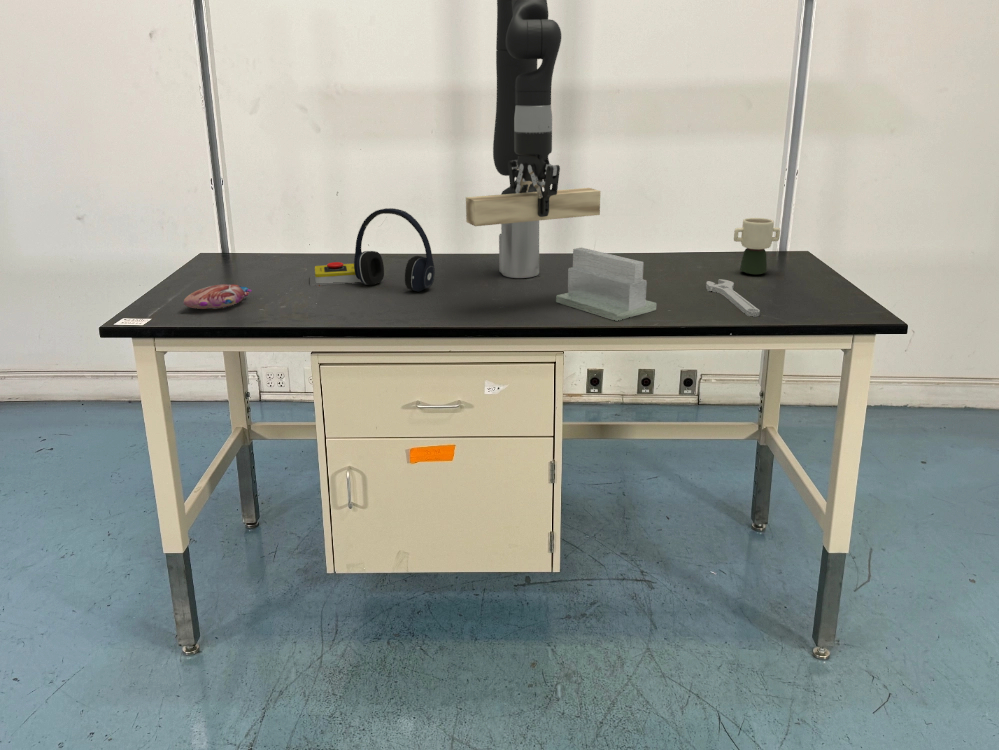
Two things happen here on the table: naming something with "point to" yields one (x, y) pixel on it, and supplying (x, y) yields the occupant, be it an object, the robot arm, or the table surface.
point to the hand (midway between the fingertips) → (533, 213)
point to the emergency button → (335, 273)
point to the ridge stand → (606, 285)
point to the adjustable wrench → (733, 296)
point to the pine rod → (531, 207)
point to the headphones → (371, 262)
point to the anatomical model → (216, 296)
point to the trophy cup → (756, 243)
